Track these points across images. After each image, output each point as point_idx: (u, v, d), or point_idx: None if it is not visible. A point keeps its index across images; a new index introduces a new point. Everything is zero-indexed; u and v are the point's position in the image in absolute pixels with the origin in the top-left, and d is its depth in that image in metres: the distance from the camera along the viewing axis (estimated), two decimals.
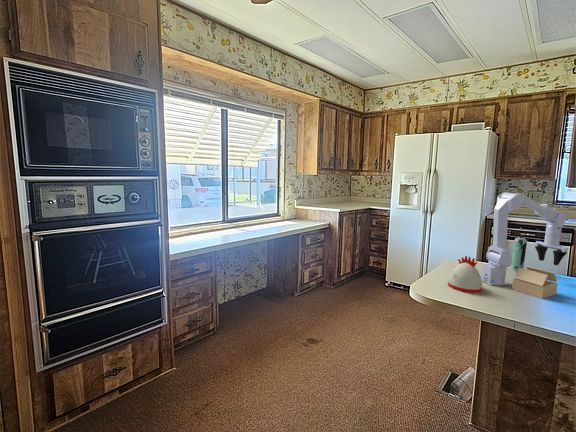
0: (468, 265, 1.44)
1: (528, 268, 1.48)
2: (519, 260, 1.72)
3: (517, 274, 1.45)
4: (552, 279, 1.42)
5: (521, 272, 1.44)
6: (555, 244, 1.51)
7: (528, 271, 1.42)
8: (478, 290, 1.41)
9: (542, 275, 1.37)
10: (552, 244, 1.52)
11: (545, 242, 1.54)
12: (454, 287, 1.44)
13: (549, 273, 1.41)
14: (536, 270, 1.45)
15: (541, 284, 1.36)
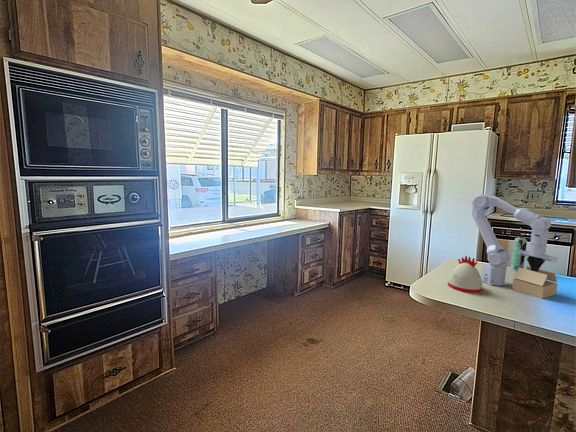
0: (468, 265, 1.44)
1: (528, 268, 1.48)
2: (519, 260, 1.72)
3: (517, 274, 1.45)
4: (552, 279, 1.42)
5: (521, 272, 1.44)
6: (543, 254, 1.38)
7: (528, 271, 1.42)
8: (478, 290, 1.41)
9: (542, 275, 1.37)
10: (540, 254, 1.38)
11: (532, 252, 1.40)
12: (454, 287, 1.44)
13: (549, 273, 1.41)
14: None
15: (541, 284, 1.36)
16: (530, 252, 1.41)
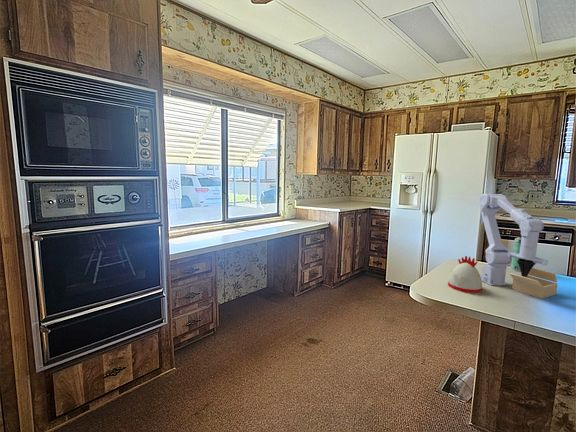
0: (468, 265, 1.44)
1: None
2: None
3: (513, 277, 1.44)
4: (552, 279, 1.42)
5: (515, 276, 1.42)
6: (533, 256, 1.34)
7: (519, 277, 1.39)
8: (478, 290, 1.41)
9: (533, 281, 1.35)
10: (530, 256, 1.34)
11: (522, 254, 1.36)
12: (454, 287, 1.44)
13: (549, 273, 1.41)
14: (536, 270, 1.45)
15: (540, 286, 1.36)
16: (520, 254, 1.37)
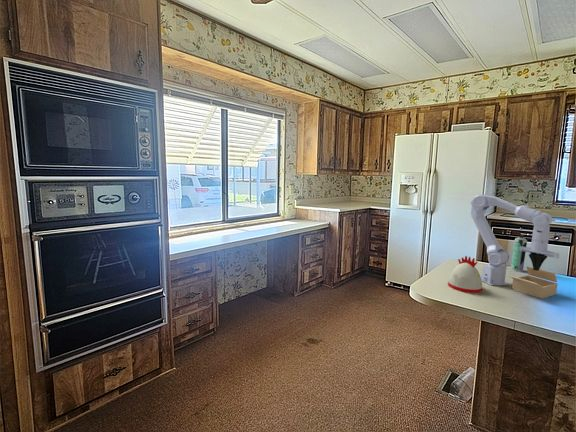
0: (468, 265, 1.44)
1: (528, 268, 1.48)
2: (519, 260, 1.72)
3: (513, 278, 1.44)
4: (552, 279, 1.42)
5: (514, 278, 1.42)
6: (545, 250, 1.37)
7: (518, 279, 1.39)
8: (478, 290, 1.41)
9: (533, 283, 1.35)
10: (542, 250, 1.37)
11: (533, 248, 1.40)
12: (454, 287, 1.44)
13: (549, 273, 1.41)
14: None
15: (540, 286, 1.36)
16: (532, 248, 1.40)
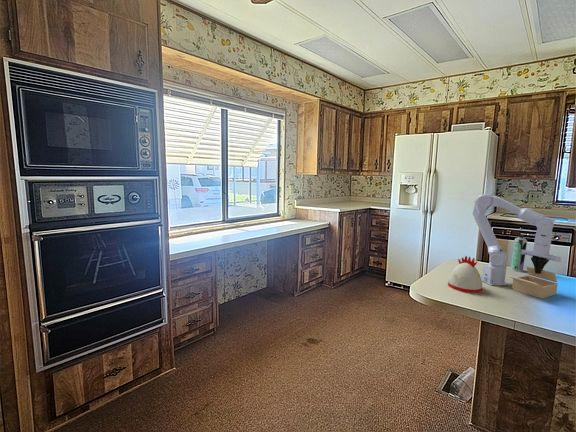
0: (468, 265, 1.44)
1: (528, 268, 1.48)
2: (519, 260, 1.72)
3: (513, 278, 1.44)
4: (552, 279, 1.42)
5: (514, 278, 1.42)
6: (547, 253, 1.39)
7: (518, 279, 1.39)
8: (478, 290, 1.41)
9: (533, 283, 1.35)
10: (544, 254, 1.39)
11: (536, 252, 1.41)
12: (454, 287, 1.44)
13: (549, 273, 1.41)
14: None
15: (540, 286, 1.36)
16: (534, 252, 1.42)
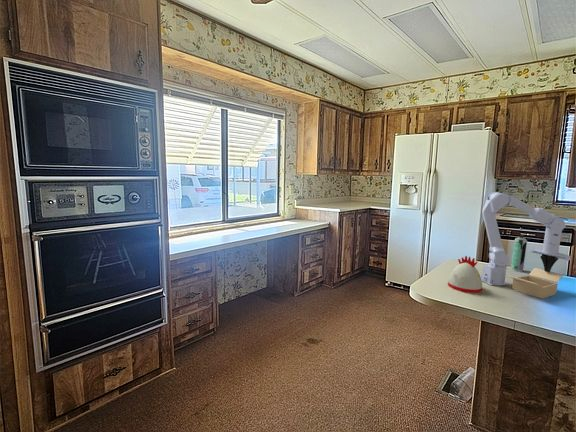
0: (468, 265, 1.44)
1: (535, 269, 1.51)
2: (519, 260, 1.72)
3: (513, 278, 1.44)
4: (554, 279, 1.42)
5: (514, 278, 1.42)
6: (556, 252, 1.43)
7: (518, 279, 1.39)
8: (478, 290, 1.41)
9: (533, 283, 1.35)
10: (553, 252, 1.43)
11: (545, 250, 1.45)
12: (454, 287, 1.44)
13: (556, 274, 1.44)
14: (543, 271, 1.48)
15: (540, 286, 1.36)
16: (544, 250, 1.46)
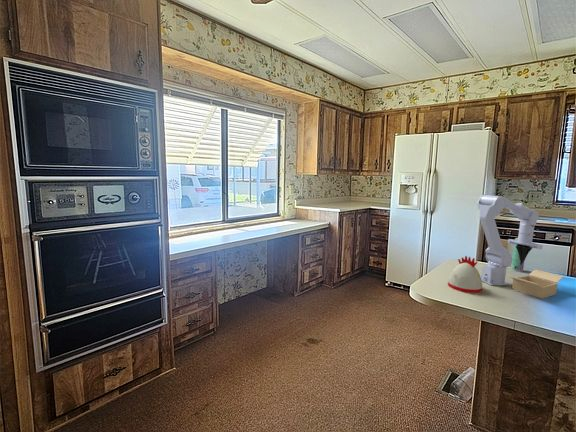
0: (468, 265, 1.44)
1: (535, 270, 1.52)
2: (519, 260, 1.72)
3: (513, 278, 1.44)
4: (554, 280, 1.43)
5: (514, 278, 1.42)
6: (530, 242, 1.53)
7: (518, 279, 1.39)
8: (478, 290, 1.41)
9: (533, 283, 1.35)
10: (527, 242, 1.53)
11: (520, 240, 1.56)
12: (454, 287, 1.44)
13: (557, 275, 1.44)
14: (543, 272, 1.49)
15: (540, 286, 1.36)
16: (518, 240, 1.56)
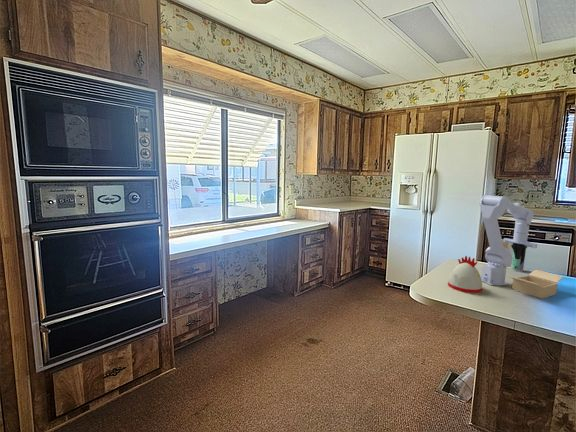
0: (468, 265, 1.44)
1: (535, 270, 1.52)
2: (519, 260, 1.72)
3: (513, 278, 1.44)
4: (554, 280, 1.43)
5: (514, 278, 1.42)
6: (525, 241, 1.56)
7: (518, 279, 1.39)
8: (478, 290, 1.41)
9: (533, 283, 1.35)
10: (522, 241, 1.56)
11: (515, 239, 1.58)
12: (454, 287, 1.44)
13: (557, 275, 1.44)
14: (543, 272, 1.49)
15: (540, 286, 1.36)
16: (514, 239, 1.58)
